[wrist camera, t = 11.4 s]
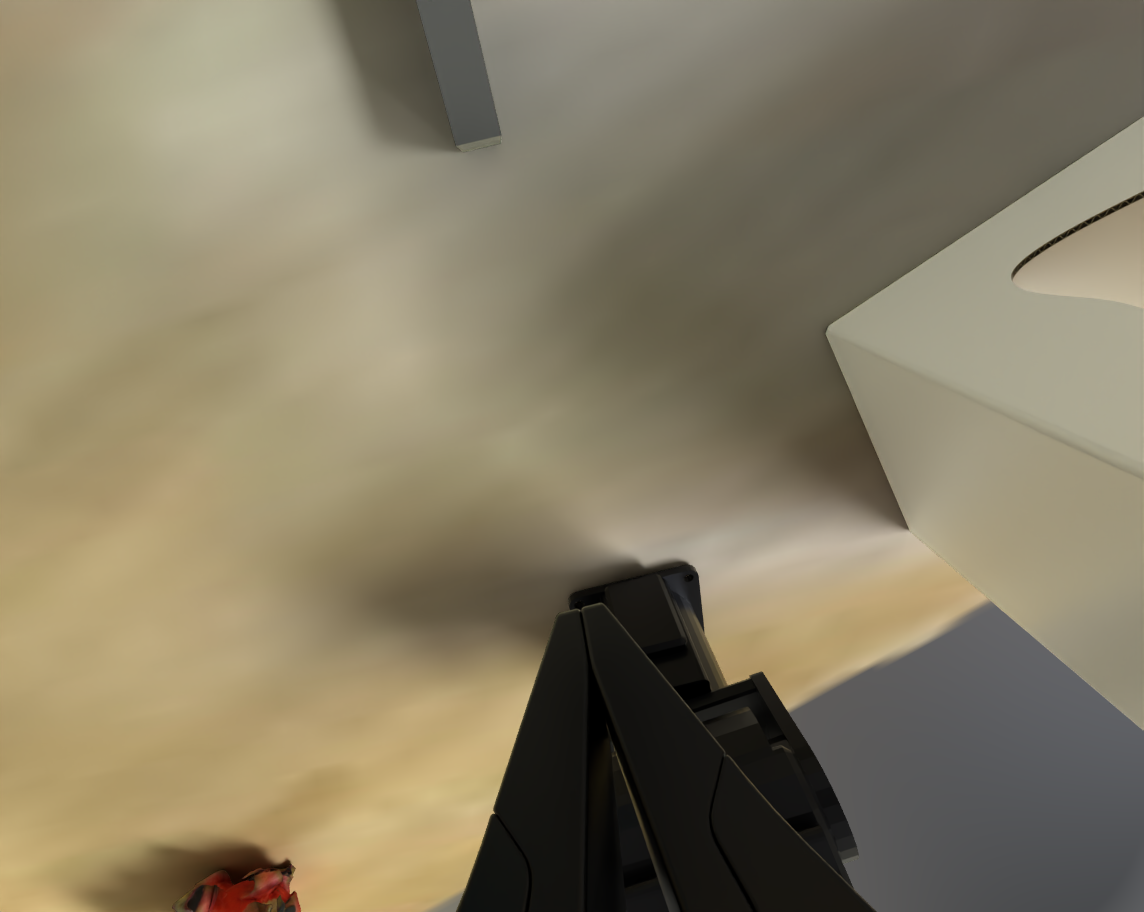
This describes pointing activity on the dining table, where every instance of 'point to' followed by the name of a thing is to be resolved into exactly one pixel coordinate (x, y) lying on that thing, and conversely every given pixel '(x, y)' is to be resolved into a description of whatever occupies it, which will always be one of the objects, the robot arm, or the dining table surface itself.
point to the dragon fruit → (242, 893)
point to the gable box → (1026, 410)
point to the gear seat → (460, 72)
